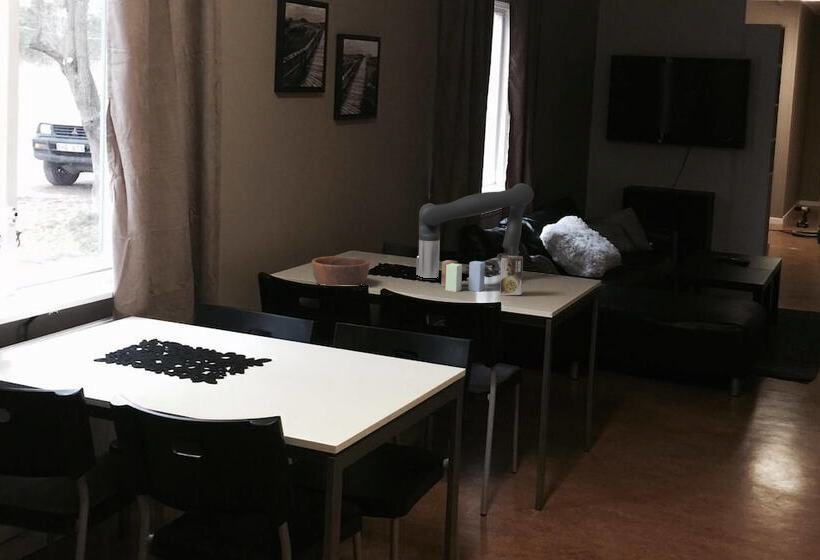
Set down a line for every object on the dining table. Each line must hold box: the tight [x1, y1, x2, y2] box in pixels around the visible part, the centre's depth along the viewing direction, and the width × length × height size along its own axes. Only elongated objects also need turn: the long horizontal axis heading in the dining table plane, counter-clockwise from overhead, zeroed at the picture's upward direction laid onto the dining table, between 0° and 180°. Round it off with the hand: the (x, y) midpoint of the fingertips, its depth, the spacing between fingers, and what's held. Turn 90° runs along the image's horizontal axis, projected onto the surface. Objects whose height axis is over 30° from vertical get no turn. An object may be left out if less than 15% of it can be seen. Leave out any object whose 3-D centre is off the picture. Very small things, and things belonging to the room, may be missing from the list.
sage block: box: [444, 263, 463, 293], centre depth 466 cm, size 5×5×11 cm
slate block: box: [468, 260, 486, 292], centre depth 467 cm, size 5×5×12 cm
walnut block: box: [440, 259, 459, 288], centre depth 473 cm, size 5×5×11 cm
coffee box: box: [499, 255, 524, 295], centre depth 459 cm, size 9×6×16 cm
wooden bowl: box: [311, 255, 371, 286], centre depth 473 cm, size 25×25×10 cm
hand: (476, 272), depth 466 cm, fingers open, 8 cm apart
